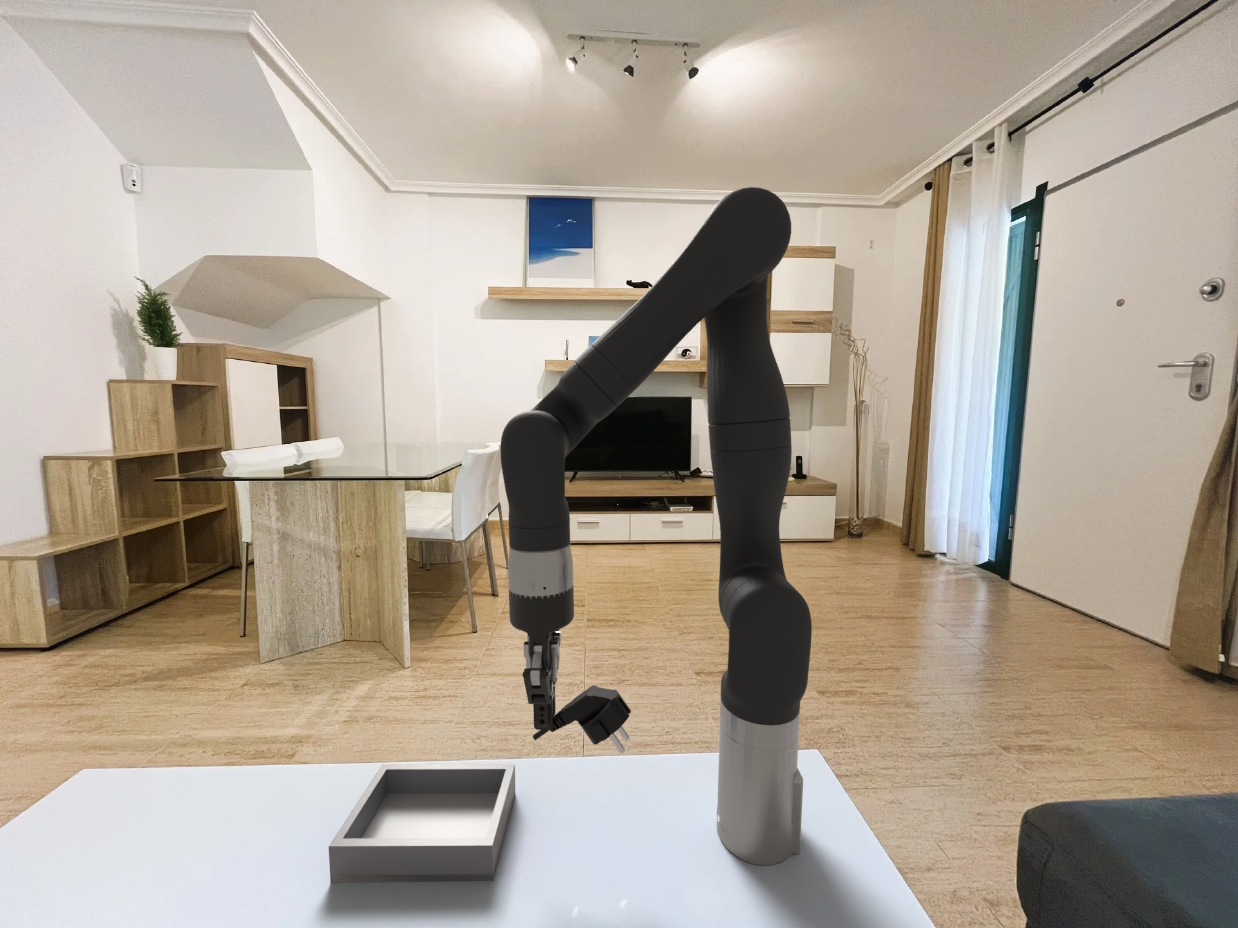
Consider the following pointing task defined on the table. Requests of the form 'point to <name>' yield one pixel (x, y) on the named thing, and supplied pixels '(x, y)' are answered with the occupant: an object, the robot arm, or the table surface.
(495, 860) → the box
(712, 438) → the robot arm
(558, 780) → the table surface
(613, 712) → the power plug
